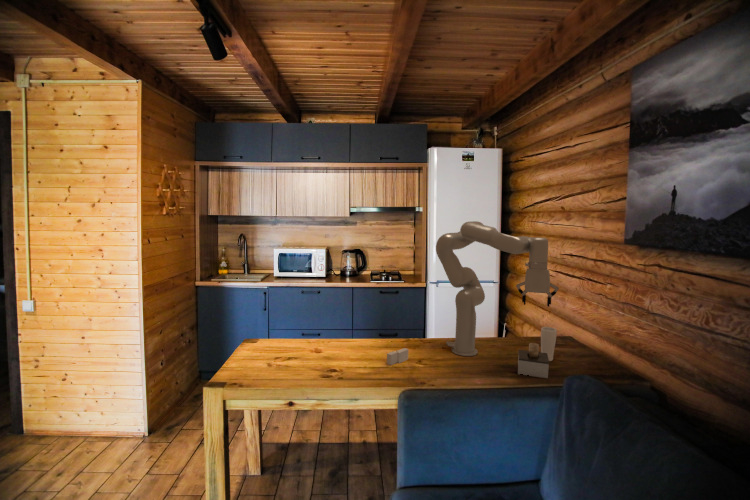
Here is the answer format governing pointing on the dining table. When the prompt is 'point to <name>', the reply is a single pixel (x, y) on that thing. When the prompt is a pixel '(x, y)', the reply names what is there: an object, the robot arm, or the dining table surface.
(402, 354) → the grey grooved block
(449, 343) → the robot arm
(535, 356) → the peg
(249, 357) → the dining table surface
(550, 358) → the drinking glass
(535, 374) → the collar block
